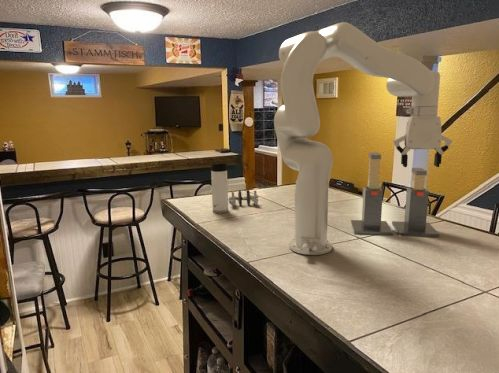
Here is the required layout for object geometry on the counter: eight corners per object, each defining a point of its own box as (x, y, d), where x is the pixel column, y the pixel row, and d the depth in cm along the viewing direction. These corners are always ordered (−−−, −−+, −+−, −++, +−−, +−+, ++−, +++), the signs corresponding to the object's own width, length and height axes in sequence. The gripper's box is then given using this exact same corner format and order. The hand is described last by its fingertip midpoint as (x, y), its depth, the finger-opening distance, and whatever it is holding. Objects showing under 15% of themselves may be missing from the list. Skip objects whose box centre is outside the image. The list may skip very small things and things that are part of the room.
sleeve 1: (392, 235, 123) (395, 193, 120) (354, 233, 125) (356, 192, 122) (386, 223, 134) (388, 185, 131) (350, 222, 136) (352, 184, 133)
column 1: (377, 213, 125) (381, 154, 121) (368, 213, 126) (371, 154, 122) (375, 208, 131) (378, 152, 127) (365, 208, 131) (368, 152, 127)
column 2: (422, 229, 124) (427, 171, 120) (411, 229, 124) (416, 170, 120) (417, 224, 130) (421, 167, 126) (407, 223, 130) (411, 167, 126)
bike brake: (261, 206, 158) (255, 201, 178) (260, 189, 157) (254, 186, 177) (228, 208, 156) (226, 203, 176) (227, 191, 156) (225, 188, 176)
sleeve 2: (439, 237, 121) (443, 194, 118) (399, 235, 123) (402, 193, 120) (428, 225, 132) (431, 185, 129) (391, 224, 134) (394, 185, 131)
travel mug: (214, 214, 149) (212, 163, 145) (211, 209, 156) (209, 161, 151) (230, 212, 151) (228, 162, 147) (226, 208, 157) (225, 160, 153)
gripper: (397, 113, 117) (394, 168, 121) (458, 112, 114) (453, 168, 118) (392, 112, 124) (390, 164, 128) (449, 111, 121) (445, 164, 125)
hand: (420, 166), depth 123 cm, fingers open, 9 cm apart
